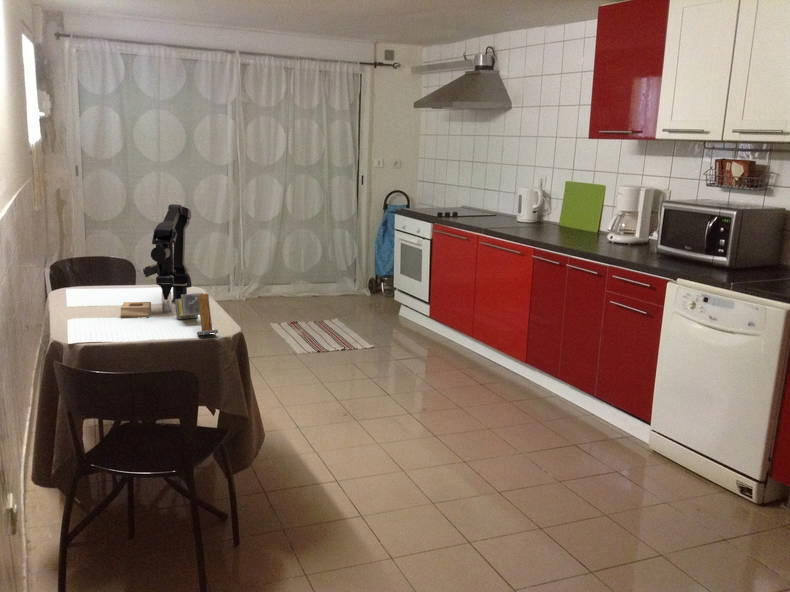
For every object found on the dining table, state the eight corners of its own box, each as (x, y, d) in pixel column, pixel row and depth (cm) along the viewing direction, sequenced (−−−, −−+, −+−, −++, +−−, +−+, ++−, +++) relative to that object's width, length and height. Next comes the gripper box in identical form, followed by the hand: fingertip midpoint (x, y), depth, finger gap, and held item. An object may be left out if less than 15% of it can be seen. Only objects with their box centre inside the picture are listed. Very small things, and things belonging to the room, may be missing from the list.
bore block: (124, 312, 272) (123, 302, 271) (151, 311, 275) (150, 301, 274) (120, 318, 263) (120, 307, 262) (148, 317, 265) (148, 307, 264)
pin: (162, 311, 276) (162, 291, 275) (172, 311, 277) (171, 291, 276) (161, 313, 273) (161, 293, 271) (171, 313, 274) (170, 293, 272)
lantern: (179, 344, 263) (198, 334, 238) (174, 299, 265) (193, 285, 240) (199, 342, 267) (220, 332, 242) (194, 298, 269) (215, 284, 243)
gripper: (146, 254, 278) (147, 292, 281) (141, 261, 260) (142, 302, 263) (175, 254, 280) (176, 292, 284) (172, 261, 263) (173, 302, 266)
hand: (166, 297), depth 274 cm, fingers open, 9 cm apart
